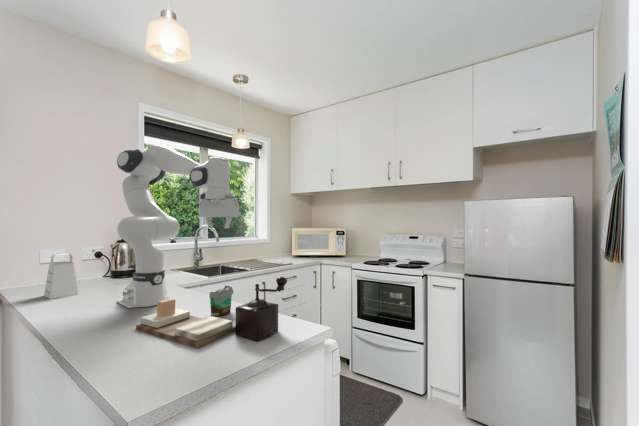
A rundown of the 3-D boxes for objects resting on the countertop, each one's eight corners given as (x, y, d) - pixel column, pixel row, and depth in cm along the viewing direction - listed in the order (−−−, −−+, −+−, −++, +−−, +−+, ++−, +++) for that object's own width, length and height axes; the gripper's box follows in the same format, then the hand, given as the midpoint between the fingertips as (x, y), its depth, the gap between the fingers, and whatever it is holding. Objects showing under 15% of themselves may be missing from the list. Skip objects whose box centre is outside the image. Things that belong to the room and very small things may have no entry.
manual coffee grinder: (260, 343, 93) (260, 284, 94) (234, 335, 99) (234, 280, 99) (289, 327, 107) (289, 276, 107) (264, 321, 112) (265, 273, 113)
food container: (223, 319, 114) (223, 293, 114) (208, 318, 115) (209, 292, 116) (238, 309, 126) (238, 286, 126) (225, 308, 127) (225, 285, 128)
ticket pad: (135, 329, 104) (135, 319, 104) (177, 316, 118) (177, 307, 118) (198, 348, 89) (198, 336, 89) (236, 330, 103) (236, 320, 103)
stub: (140, 323, 105) (140, 303, 105) (174, 312, 116) (174, 294, 116) (156, 327, 101) (157, 306, 101) (189, 316, 112) (190, 297, 112)
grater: (43, 295, 147) (44, 254, 147) (70, 291, 155) (71, 252, 155) (50, 299, 141) (51, 256, 141) (78, 294, 149) (78, 254, 149)
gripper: (242, 195, 125) (242, 228, 125) (208, 196, 135) (207, 227, 135) (231, 194, 120) (231, 229, 120) (196, 195, 129) (195, 227, 129)
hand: (218, 228), depth 127 cm, fingers open, 8 cm apart
